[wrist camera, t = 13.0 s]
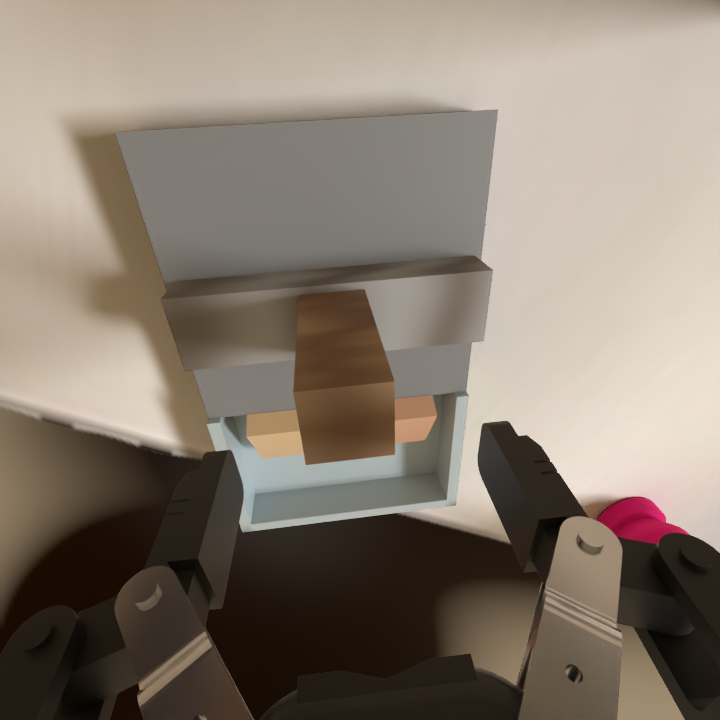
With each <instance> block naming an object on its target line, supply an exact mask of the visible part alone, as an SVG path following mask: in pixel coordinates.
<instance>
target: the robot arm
mask: <svg viewBox="0 0 720 720" xmlns="http://www.w3.org/2000/svg"><path fill="white" fill-rule="evenodd" d="M478 467H479V471H480V475H481V477H482V480H483V482H484V484H485V486H486V488H487V491H488V493H489V495H490V497H491V500H492V502H493V504H494V506H495V509H496V511H497V513H498V515H499V518H500V520H501V522H502V524H503V526H504V529H505V531H506V533H507V535H508V538H509V540H510V542H511V544H512V547H513V549H514V551H515V553H516V555H517V558H518V560H519V562H520V564H521V567H522V569H523V571H524V572H533V571H538V574H539V576H540V578H541V580H542V584H541V588H540V592H539V596H538V600H537V604H536V608H535V612H534V616H533V621H532V625H531V629H530V633H529V637H528V641H527V645H526V649H525V653H524V657H523V660H522V664H521V668H520V671H519V674H518V678H517V683H516V686H515V685H514V684H512V683H511V682H509V681H508V680H506V679H504V678H503V677H501V676H499V675H497V674H495V673H493V672H490V671H487V670H484V669H481V668H477V667H474V665H473V661H472V658H471V654H464V655H457V656H449V657H441V658H434V659H428V660H426V661H424V662H422V663H419V664H417V665H415V666H413V667H411V668H409V669H407V670H405V671H403V672H401V673H399V674H396V675H394V676H392V677H390V678H386V679H384V678H377V677H372V676H366V675H361V674H355V673H350V672H345V671H334V672H327V673H319V674H311V675H304V676H298V682H297V690H296V691H294V692H292V693H290V694H289V695H287V696H286V697H284V698H283V699H281V700H280V701H278V702H277V703H276V704H275V705H274V706H273V707H271V708H270V709H269V710H268V711H267V712H266V713H265V714H264V715H263V716H262V717H261V719H260V720H617V712H618V698H619V684H620V669H621V655H622V633H621V631H620V630H618V629H617V623H619V624H623V625H628V626H632V627H634V629H635V631H636V632H637V634H638V636H639V638H640V639H641V641H642V643H643V645H644V647H645V649H646V650H647V652H648V654H649V656H650V658H651V659H652V661H653V663H654V664H655V666H656V668H657V670H658V672H659V674H660V676H661V677H662V679H663V681H664V683H665V684H666V686H667V688H668V690H669V692H670V694H671V695H672V697H673V699H674V701H675V703H676V704H677V706H678V708H679V710H680V711H681V713H682V715H683V717H684V719H685V720H720V553H719V552H718V551H716V550H715V549H714V548H713V547H711V546H710V545H709V544H707V543H705V542H704V541H702V540H700V539H698V538H696V537H693V536H691V535H687V534H683V533H669V534H666V535H664V536H663V537H661V539H660V540H659V542H658V544H654V543H648V542H643V541H637V540H631V539H626V538H622V537H618V536H616V535H615V534H614V533H613V532H612V531H611V530H610V529H609V528H608V527H606V526H605V525H604V524H602V523H600V522H598V521H596V520H594V519H591V518H589V517H588V516H587V514H586V513H585V512H584V510H583V509H582V507H581V506H580V504H579V503H578V501H577V500H576V498H575V497H574V495H573V494H572V492H571V491H570V489H569V488H568V486H567V485H566V483H565V482H564V480H563V479H562V477H561V476H560V474H559V473H557V470H556V468H555V467H554V465H553V464H552V462H550V459H549V458H548V456H547V455H546V453H545V452H544V450H543V449H542V447H541V446H540V445H539V444H537V443H536V442H535V441H533V440H532V439H531V438H529V437H528V436H527V435H525V436H518V435H517V434H516V432H515V430H514V429H513V427H512V426H511V424H510V423H509V422H508V421H501V422H491V423H484V424H483V425H482V429H481V436H480V444H479V451H478ZM243 499H244V489H243V483H242V479H241V476H240V473H239V470H238V467H237V464H236V461H235V458H234V455H233V452H232V451H231V450H223V451H214V452H206V453H205V454H204V456H203V459H202V462H201V465H200V467H199V470H196V471H189V472H188V473H187V474H186V475H185V476H184V478H183V479H182V480H181V481H180V482H179V483H178V485H177V486H176V489H175V491H174V494H173V496H172V499H171V504H169V507H168V509H167V512H166V517H164V520H163V522H162V525H161V527H160V530H159V532H158V535H157V537H156V540H155V543H154V545H153V548H152V550H151V553H150V556H149V558H148V561H147V563H146V565H145V568H144V570H143V571H141V572H139V573H138V574H136V575H135V576H134V577H132V578H131V579H130V580H129V581H128V582H127V583H126V584H125V586H124V587H123V588H122V590H121V591H120V593H119V595H117V596H116V597H114V598H111V599H109V600H107V601H105V602H102V603H100V604H98V605H95V606H93V607H91V608H88V609H86V610H84V611H81V612H79V613H75V612H74V611H73V610H72V609H71V608H70V607H67V606H62V605H59V606H53V607H49V608H47V609H44V610H42V611H40V612H38V613H37V614H35V615H34V616H32V617H31V618H29V619H28V620H27V621H26V622H25V623H23V624H22V625H21V626H20V627H19V628H18V629H17V630H16V632H15V633H14V634H13V635H12V637H11V638H10V639H9V641H8V643H7V644H6V646H5V648H4V650H3V652H2V654H1V655H0V720H110V716H111V713H112V710H113V706H114V703H115V700H116V697H117V693H119V692H121V691H123V690H125V689H127V688H129V687H131V686H133V685H135V684H137V683H139V687H140V692H139V693H138V702H139V706H140V710H141V713H142V716H143V719H144V720H253V718H252V716H251V714H250V712H249V710H248V709H247V706H246V704H245V703H244V701H243V699H242V697H241V695H240V693H239V691H238V689H237V688H236V686H235V684H234V682H233V680H232V678H231V676H230V674H229V672H228V670H227V668H226V666H225V665H224V663H223V661H222V659H221V657H220V655H219V653H218V651H217V649H216V647H215V645H214V643H213V642H212V639H211V638H210V636H209V634H208V632H207V630H206V628H205V624H206V620H207V615H208V611H209V610H212V609H221V608H222V606H223V601H224V596H225V591H226V585H227V581H228V576H229V570H230V566H231V560H232V556H233V551H234V546H235V540H236V535H237V531H238V525H239V520H240V515H241V510H242V505H243Z"/></svg>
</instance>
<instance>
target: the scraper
mask: <svg viewBox="0 0 720 720" xmlns="http://www.w3.org/2000/svg"><path fill="white" fill-rule="evenodd" d="M492 273H493V270H492V269H491V268H489V267H488V266H487V265H486V264H485V263H483V262H482V261H481V260H480V259H479V258H477V257H476V256H463V257H451V258H440V259H428V260H416V261H405V262H393V263H381V264H369V265H358V266H346V267H334V268H322V269H311V270H299V271H287V272H276V273H264V274H252V275H240V276H229V277H217V278H205V279H194V280H182V281H176V282H175V283H174V284H173V285H172V286H171V288H170V289H169V290H168V291H167V292H166V294H165V295H164V296H163V297H162V299H161V302H162V305H163V308H164V311H165V314H166V317H167V320H168V323H169V326H170V328H171V331H172V334H173V337H174V340H175V343H176V346H177V349H178V352H179V355H180V358H181V361H182V364H183V367H184V370H185V371H190V370H200V369H210V368H220V367H230V366H240V365H250V364H260V363H270V362H280V361H290V360H295V370H294V386H293V394H294V400H295V406H296V412H297V417H298V423H299V429H300V435H301V440H302V446H303V452H304V458H305V463H306V465H312V464H321V463H329V462H338V461H346V460H355V459H363V458H372V457H380V456H389V455H395V381H394V378H393V375H392V372H391V369H390V366H389V363H388V360H387V356H386V353H385V351H390V350H400V349H410V348H420V347H430V346H440V345H450V344H460V343H470V342H480V341H484V335H485V327H486V319H487V312H488V304H489V296H490V288H491V281H492Z"/></svg>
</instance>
